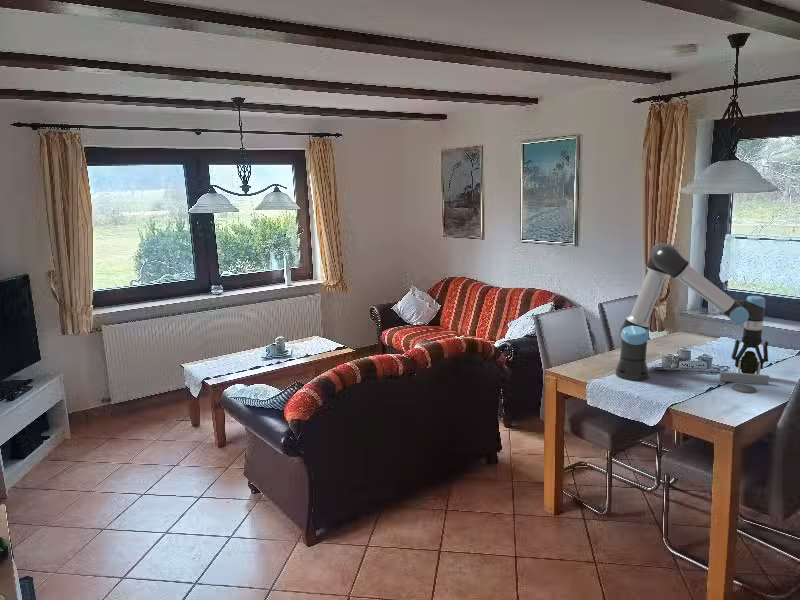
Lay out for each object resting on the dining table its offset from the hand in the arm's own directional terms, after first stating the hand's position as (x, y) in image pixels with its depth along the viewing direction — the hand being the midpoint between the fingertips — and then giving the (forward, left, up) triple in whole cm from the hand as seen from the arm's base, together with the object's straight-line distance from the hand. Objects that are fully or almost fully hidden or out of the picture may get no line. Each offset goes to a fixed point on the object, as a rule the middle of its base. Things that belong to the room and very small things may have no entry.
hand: (747, 374), depth 280 cm
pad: (-6, -20, -1) cm, 21 cm away
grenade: (0, 0, -1) cm, 1 cm away
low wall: (-4, -10, -1) cm, 11 cm away
